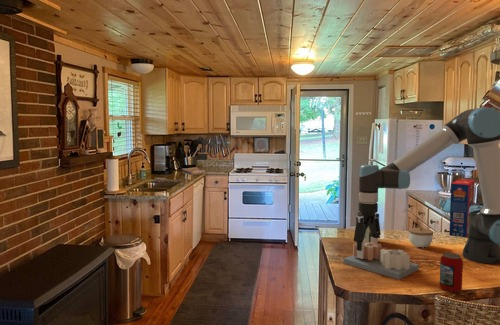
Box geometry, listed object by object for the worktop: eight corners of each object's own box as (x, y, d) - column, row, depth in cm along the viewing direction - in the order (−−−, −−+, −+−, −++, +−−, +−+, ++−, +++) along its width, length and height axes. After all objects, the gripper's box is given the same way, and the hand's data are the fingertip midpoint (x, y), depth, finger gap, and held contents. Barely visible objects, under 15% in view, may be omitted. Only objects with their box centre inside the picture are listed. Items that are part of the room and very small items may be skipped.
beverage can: (435, 285, 133) (436, 252, 132) (453, 285, 134) (455, 251, 133) (447, 293, 126) (448, 258, 126) (466, 292, 127) (467, 257, 126)
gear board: (418, 269, 149) (419, 249, 149) (398, 279, 139) (399, 258, 138) (364, 255, 167) (364, 237, 167) (343, 263, 157) (343, 244, 156)
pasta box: (466, 237, 198) (468, 184, 196) (449, 235, 202) (451, 183, 201) (472, 227, 220) (474, 180, 218) (457, 225, 225) (458, 179, 223)
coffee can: (376, 238, 195) (377, 211, 194) (379, 244, 185) (379, 216, 184) (355, 237, 197) (356, 211, 196) (357, 243, 187) (357, 215, 186)
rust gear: (383, 256, 157) (383, 244, 156) (371, 261, 150) (371, 249, 150) (363, 251, 164) (363, 239, 164) (350, 255, 158) (350, 243, 157)
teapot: (447, 209, 278) (448, 194, 277) (469, 212, 266) (469, 197, 265) (437, 211, 268) (437, 196, 268) (459, 215, 257) (460, 199, 256)
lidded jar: (422, 242, 188) (423, 224, 187) (437, 248, 178) (438, 229, 177) (403, 244, 186) (404, 225, 185) (418, 250, 175) (418, 230, 175)
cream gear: (402, 261, 153) (402, 249, 152) (411, 269, 143) (411, 256, 143) (378, 261, 153) (378, 249, 153) (385, 269, 144) (385, 256, 143)
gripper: (374, 198, 166) (373, 248, 167) (344, 204, 151) (343, 258, 153) (390, 200, 160) (388, 252, 162) (361, 206, 146) (360, 263, 147)
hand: (367, 255), depth 157 cm, fingers closed on rust gear, 10 cm apart
